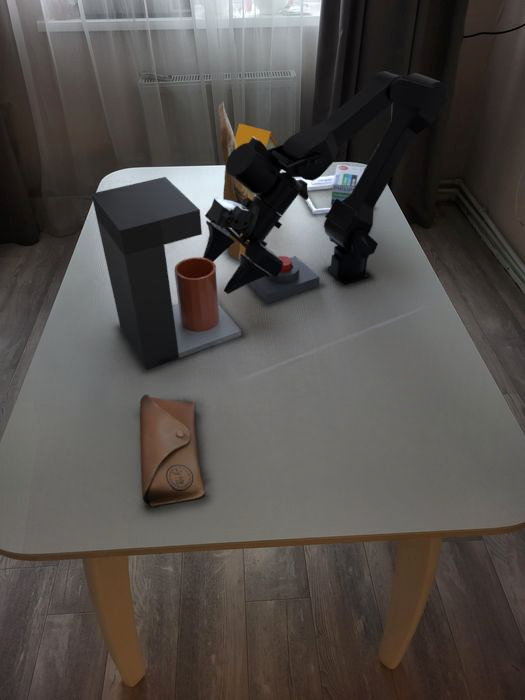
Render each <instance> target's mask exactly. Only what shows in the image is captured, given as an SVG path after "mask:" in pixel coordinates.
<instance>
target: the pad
mask: <svg viewBox="0 0 525 700" xmlns="http://www.w3.org/2000/svg"><path fill="white" fill-rule="evenodd" d="M289 258H290V259H291V261H292V263H291V270H290V271H288V272H280V273H279V274H278V275H277V277H275V276H273V275H272V274H270V273H269V274H270V275H271V276H270V277H269V278H268V277H267V276H265V277H263V278H260V279H258V280H255V281H253V282H251V283H249V284H247V285H248V286H249V287H250V288H251V289H252V290H253V291H254V292H255V293H256V294H257V295H258V296H259V297H260V298H261V300H263V301H264V302H265V304H271V303H274V302H276V301H277V302H278V301H279V300H282V299H286V298H289V297H291V296H294V295H297V294H300V293H303V292H306V291H309V290H312V289H314V288H317V287H319V286H320V279H321V277H320V275H318V274H317V273H316V272H314V270H312V269H311V268H310V267H309V266H308V265H306V263H304V262H303V261H302V260H301V259H300V258H298V257H297V255H294V256H291V257H289Z"/></svg>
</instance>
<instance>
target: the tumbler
mask: <svg viewBox="0 0 525 700" xmlns="http://www.w3.org/2000/svg"><path fill="white" fill-rule="evenodd" d="M217 275H218V274H217V265H216V264H215V261H211V260H209V259H206V258H203V256H202V257H200V256H197V257H195V256H193V257H188V258H184V259H182V260H180V261H178V263H176V265H175V266H174V279H175V287H176V295H177V304H179V312H180V320H181V323H182V325H183V326H184V327H185V328H186V329H188V330H191V331H197V332H200V331H206V330H209V329H212V328H213V327H215V326H216V325H217V324H218V322H219V305H220V304H219V292H218V291H219V290H218V276H217Z"/></svg>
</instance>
